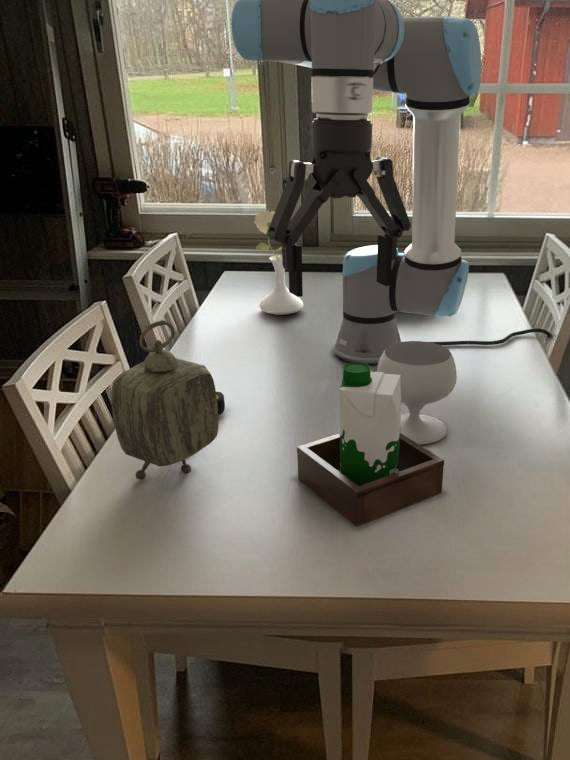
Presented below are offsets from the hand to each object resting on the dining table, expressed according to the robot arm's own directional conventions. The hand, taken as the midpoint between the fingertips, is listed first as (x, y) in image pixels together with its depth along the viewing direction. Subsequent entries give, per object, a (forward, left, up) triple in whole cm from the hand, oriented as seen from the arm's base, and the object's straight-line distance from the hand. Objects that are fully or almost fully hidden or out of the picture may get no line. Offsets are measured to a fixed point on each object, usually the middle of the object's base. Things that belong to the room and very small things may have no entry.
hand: (341, 289), depth 100 cm
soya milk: (-3, +3, -32) cm, 32 cm away
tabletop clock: (+20, -19, -32) cm, 42 cm away
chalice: (-21, -8, -32) cm, 39 cm away
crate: (-3, +3, -31) cm, 32 cm away
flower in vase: (-35, -81, -32) cm, 94 cm away
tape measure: (+7, -36, -32) cm, 48 cm away
